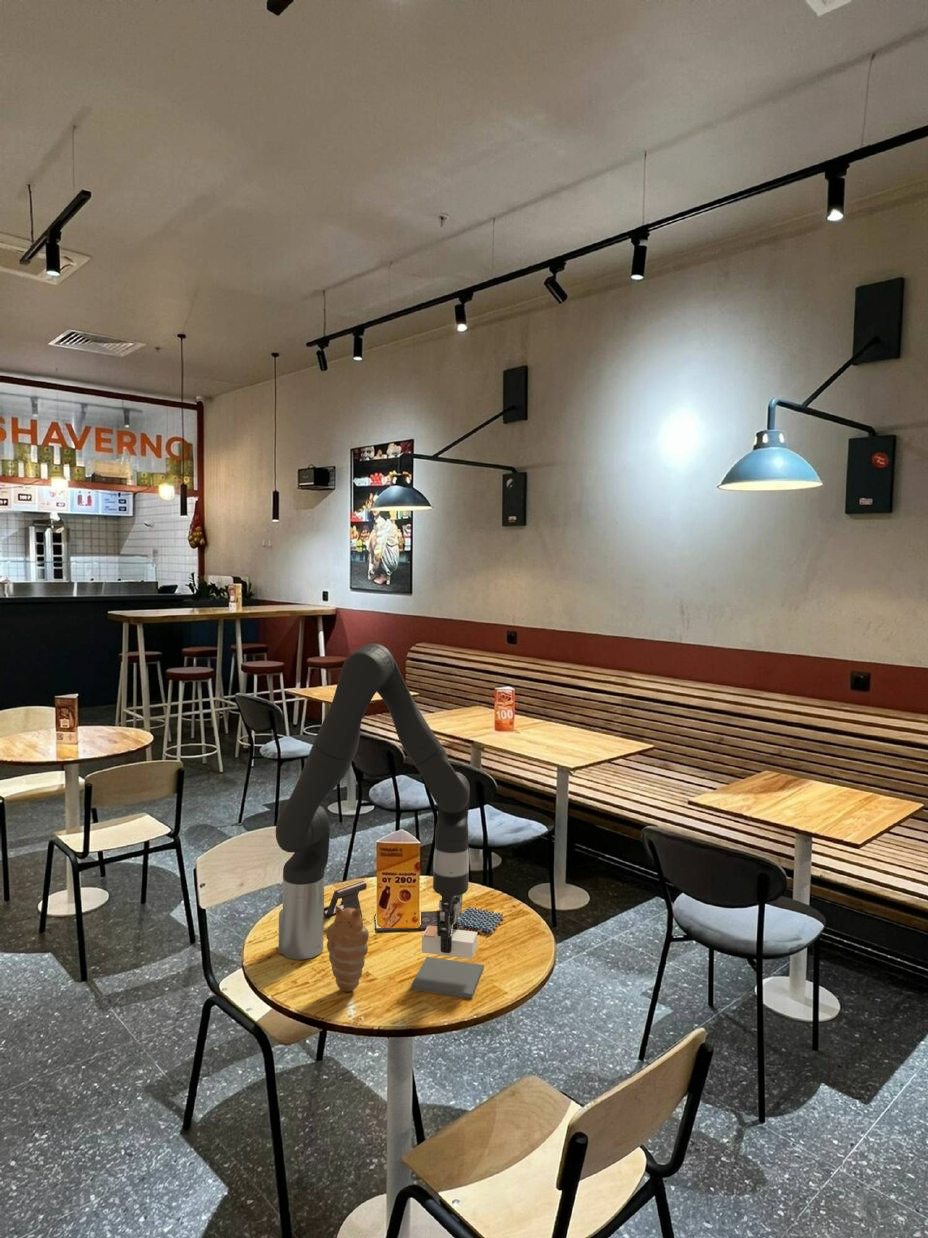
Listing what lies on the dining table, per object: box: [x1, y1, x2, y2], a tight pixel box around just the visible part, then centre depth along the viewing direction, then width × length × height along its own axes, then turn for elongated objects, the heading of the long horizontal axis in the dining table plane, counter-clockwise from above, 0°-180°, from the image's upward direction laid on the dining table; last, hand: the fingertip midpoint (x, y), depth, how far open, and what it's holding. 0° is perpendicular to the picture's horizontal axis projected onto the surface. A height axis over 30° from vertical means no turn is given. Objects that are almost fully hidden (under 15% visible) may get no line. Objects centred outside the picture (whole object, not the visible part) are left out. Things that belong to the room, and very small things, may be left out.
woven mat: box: [458, 906, 505, 937], centre depth 190 cm, size 10×11×2 cm
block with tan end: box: [421, 925, 478, 960], centre depth 164 cm, size 11×5×4 cm, turn 78°
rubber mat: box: [410, 956, 485, 999], centre depth 164 cm, size 13×12×1 cm
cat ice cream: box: [325, 905, 370, 993], centre depth 158 cm, size 9×8×18 cm
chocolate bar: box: [374, 910, 438, 934], centre depth 190 cm, size 9×1×18 cm
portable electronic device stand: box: [324, 880, 368, 918], centre depth 193 cm, size 9×8×8 cm
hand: (449, 945), depth 164 cm, fingers closed on block with tan end, 5 cm apart
